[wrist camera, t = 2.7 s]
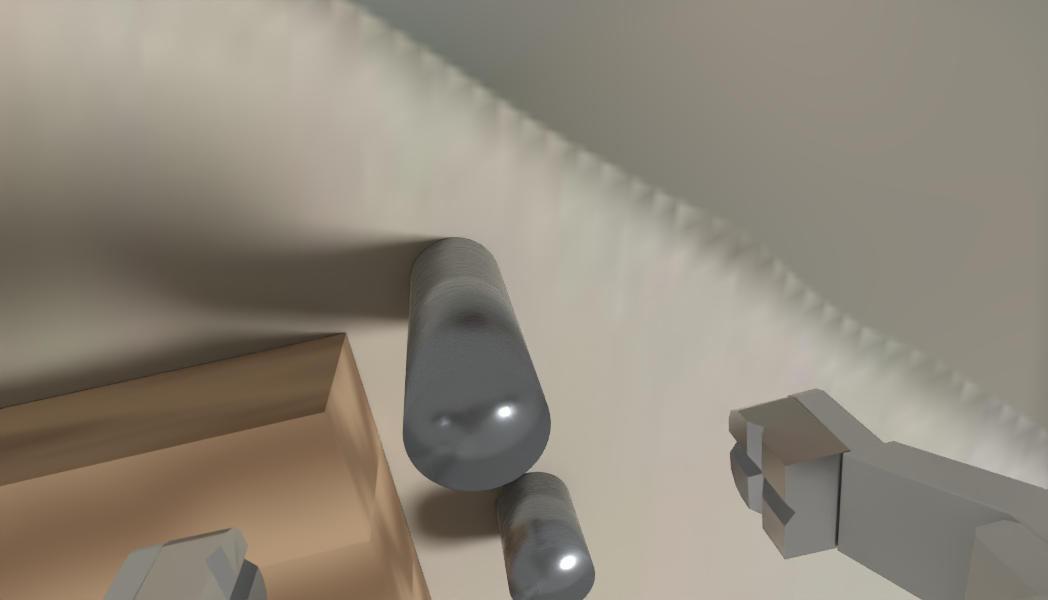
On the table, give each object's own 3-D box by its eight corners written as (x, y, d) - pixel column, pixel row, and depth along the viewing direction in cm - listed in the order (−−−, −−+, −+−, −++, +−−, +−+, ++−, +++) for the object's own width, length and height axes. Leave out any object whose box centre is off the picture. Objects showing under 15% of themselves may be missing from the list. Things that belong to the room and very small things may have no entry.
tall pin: (507, 310, 21) (560, 472, 13) (422, 329, 21) (422, 505, 13) (490, 229, 20) (537, 350, 12) (400, 248, 20) (385, 384, 12)
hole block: (438, 622, 26) (442, 742, 22) (102, 709, 25) (31, 854, 21) (346, 333, 21) (324, 412, 16) (-88, 428, 20) (-242, 542, 15)
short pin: (574, 522, 25) (600, 601, 22) (503, 540, 25) (517, 622, 22) (564, 464, 24) (589, 537, 21) (489, 482, 24) (501, 559, 20)
